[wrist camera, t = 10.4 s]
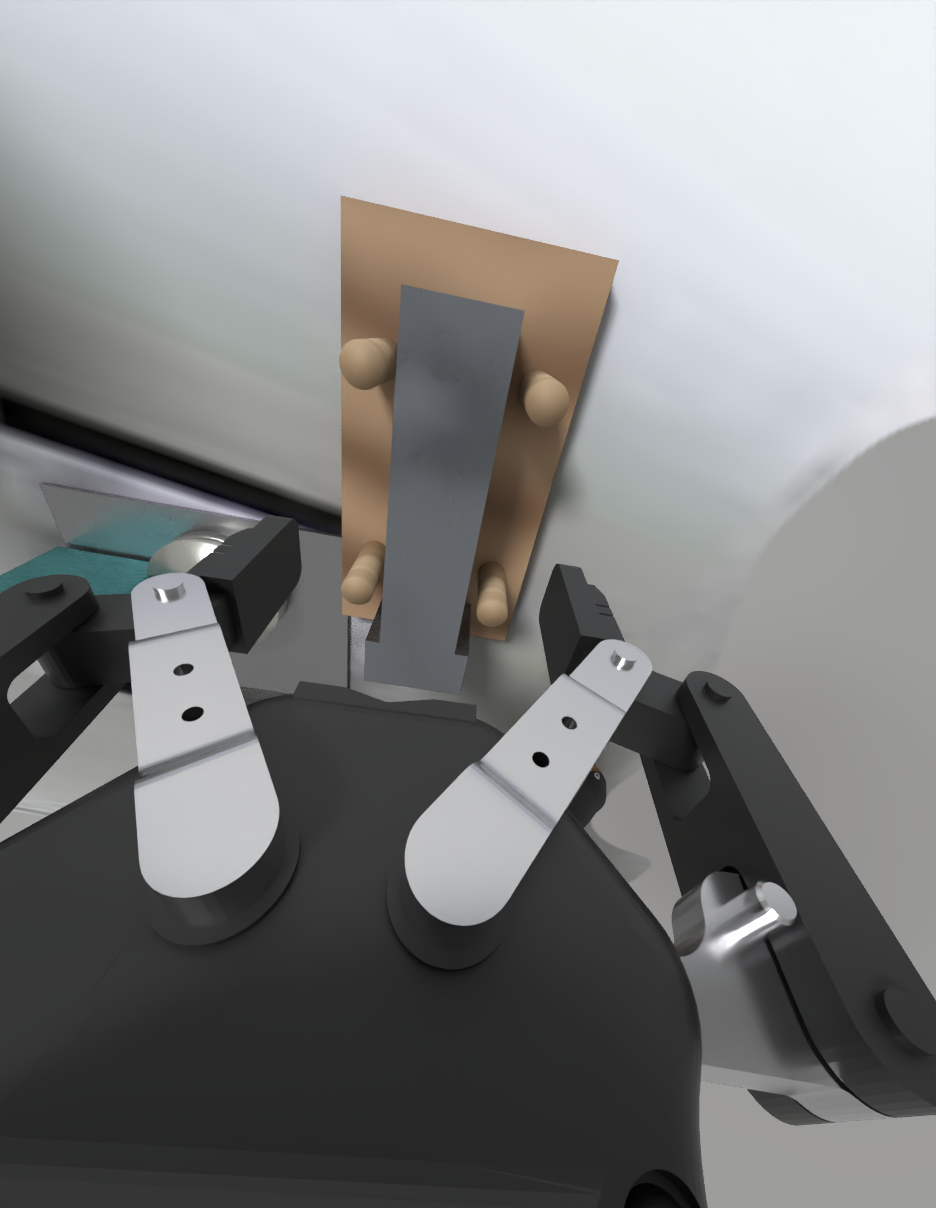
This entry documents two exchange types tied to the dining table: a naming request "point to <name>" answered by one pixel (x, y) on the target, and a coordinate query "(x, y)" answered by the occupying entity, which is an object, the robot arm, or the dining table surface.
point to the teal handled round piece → (124, 567)
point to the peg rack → (534, 402)
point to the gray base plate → (140, 528)
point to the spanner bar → (438, 482)
